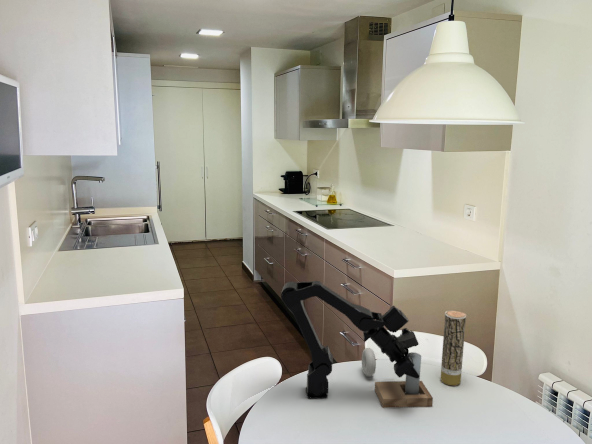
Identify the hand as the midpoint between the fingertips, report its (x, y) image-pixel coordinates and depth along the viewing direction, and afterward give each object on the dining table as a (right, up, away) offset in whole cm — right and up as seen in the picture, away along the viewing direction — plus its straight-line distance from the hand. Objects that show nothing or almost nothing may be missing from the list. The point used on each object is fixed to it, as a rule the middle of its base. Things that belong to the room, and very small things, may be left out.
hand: (417, 374), depth 160 cm
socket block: (-4, -8, +1) cm, 9 cm away
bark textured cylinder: (+15, -7, +13) cm, 21 cm away
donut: (-14, -6, +17) cm, 22 cm away
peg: (-1, -7, +1) cm, 8 cm away
